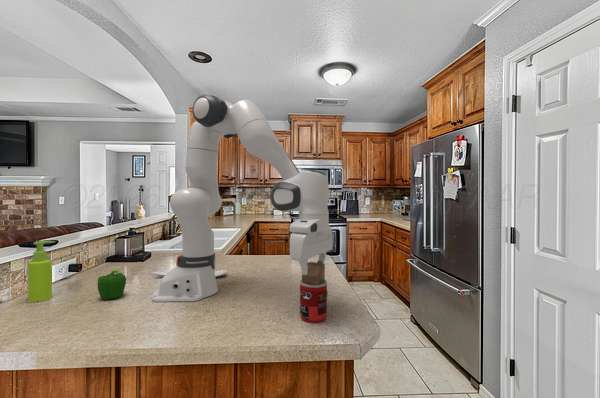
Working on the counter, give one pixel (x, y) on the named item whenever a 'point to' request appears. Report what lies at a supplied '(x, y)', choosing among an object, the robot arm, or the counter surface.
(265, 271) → the counter surface
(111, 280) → the bell pepper
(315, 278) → the walnut block
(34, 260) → the soap dispenser
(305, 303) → the canned food
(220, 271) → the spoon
